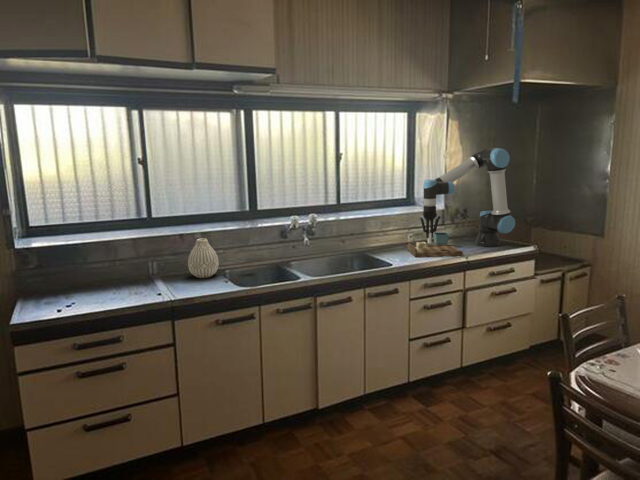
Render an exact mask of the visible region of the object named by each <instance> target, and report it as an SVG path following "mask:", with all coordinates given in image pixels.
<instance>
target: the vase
mask: <svg viewBox="0 0 640 480" xmlns="http://www.w3.org/2000/svg"><path fill="white" fill-rule="evenodd" d="M219 261H220V260H219V256H218V255H217V252H216V250H215V249H214V248H213V247H212V246H211V245H210V241H208V239H207V238H205V237H204V238H202V237H201V238H198V239H196V241H195V244H194V246H193V248H192V249H191V251H190V253H189V255H188V260H187V266H188V267H187V268H188V269H189V272H190V274H192V275H193V276H194V277H195V278H197V279H206V278H211V277H212V276H214V275H215V274H216V273H217V271H218V268H219V265H220V264H219V263H220V262H219Z"/></svg>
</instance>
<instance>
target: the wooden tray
mask: <svg viewBox="0 0 640 480" xmlns="http://www.w3.org/2000/svg"><path fill="white" fill-rule="evenodd" d="M407 245H408V246H407V252H408V253H410V254H411V255H412V256H413V257H414V258H441V257H443V256H452V257H463V250H460V249H458V248H457V247H455V246H453V244H447V245H436V244H427V248H426V251H423V252H418V251H417V249H416V245H412V244H411V243H408V244H407ZM443 258H444V257H443Z"/></svg>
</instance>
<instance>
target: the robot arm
mask: <svg viewBox="0 0 640 480" xmlns="http://www.w3.org/2000/svg"><path fill="white" fill-rule="evenodd" d="M510 158H511V156H510V154H509V152H508V151H507V150H506V149H505V148H500V147H494V148H488V147H487V148H483V149H480V150H479V151H477V152H475V153H474V154H472V155H470V156H469V157H468V158H467V160H465V161H463V162H462V163H460V164H458V165H457V166H455V167H453V168H452V169H451V170H449V171H446V172H444V173H443V174H442V175H440V176H438V177H437V178H434V179H425V180H424V181H423V187H422V188H423V213H422V215H421V216H419V217H418V219H419V221H420V223H421V227H422V231H423V233H426V235H425V236H426V237H425V238H426V239H427V244H428V245H432V239H434V234H433V233H437V230H438V226H439V225H438V224H439V221H440V220H441V216H440V215H438V214H437V206H436V205H437V196H440V195H441V196H442V195H443V196H444V195H453V194H454V192H455V190H456V188H455V187H456V186H455V183H454V182H455V181H456V182H457V180H459V179H461V178H463V177H464V176H466V175H467V174H469V173H471V172H472V171H474V170H476V171H478V170H479V169H481V168H486V171H487V173H488V174H489V177H490V178H489V179H490V186H491V187H490V189H491V199H492V208H493V209H492V210H482V211H480V214H479V225H478V235H477V238H476V239H475V246H476V245H477V246H481V247H489V248H490V247H491V248H492V247H493V248H494V247H499V246H500V239H499V234H509V233H510V232H512V231H513V229H514V228H515V226H516V220H515V218H514V217H513V216H512V214H511V210H510V209H509V208H508V198H507V196H508V195H507V187H506V185H507V184H506V176H505V175H506V174H505V172H506V170H507V166H509V165H508V164H510ZM424 220H425V221H424Z"/></svg>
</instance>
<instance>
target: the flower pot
mask: <svg viewBox="0 0 640 480" xmlns="http://www.w3.org/2000/svg"><path fill="white" fill-rule="evenodd" d="M449 238H450V234H449V233H447V232H434V233H433V242H434V245H449V240H450V239H449Z"/></svg>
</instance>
